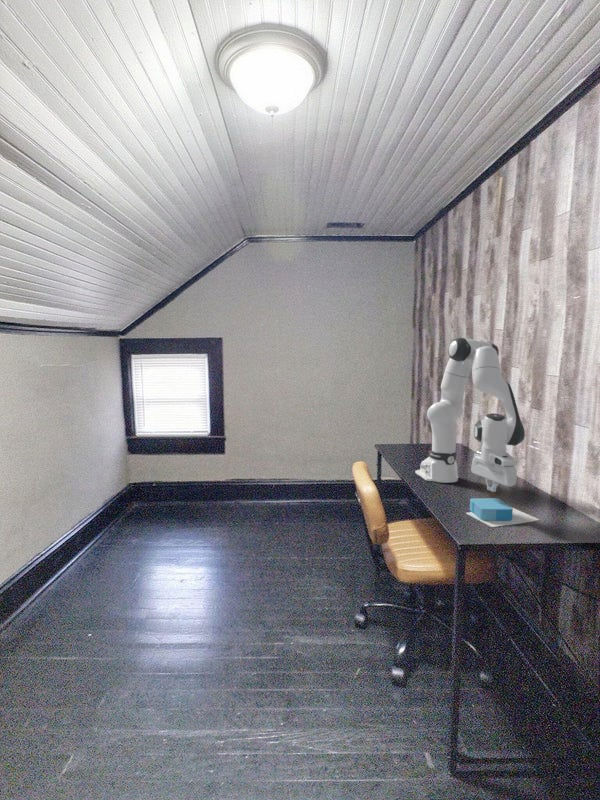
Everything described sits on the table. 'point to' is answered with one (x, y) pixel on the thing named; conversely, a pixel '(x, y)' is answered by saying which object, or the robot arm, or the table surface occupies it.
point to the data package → (491, 509)
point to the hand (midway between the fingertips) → (491, 490)
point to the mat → (516, 519)
